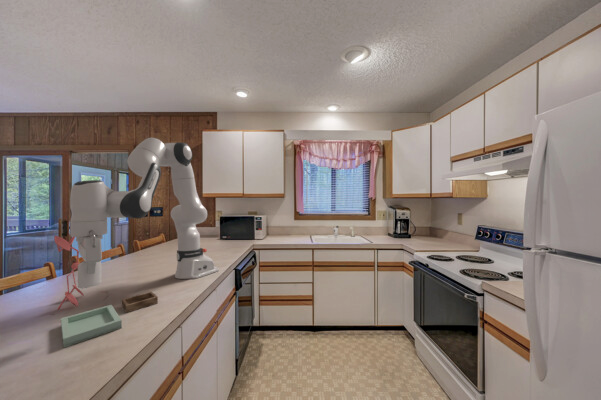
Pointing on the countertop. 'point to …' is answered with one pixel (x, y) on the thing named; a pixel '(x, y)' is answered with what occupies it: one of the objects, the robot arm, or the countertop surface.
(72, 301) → the red leafy plant shape
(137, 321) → the countertop surface
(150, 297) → the walnut rectangular frame
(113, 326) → the tray
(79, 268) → the eye dropper bottle
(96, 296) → the countertop surface
